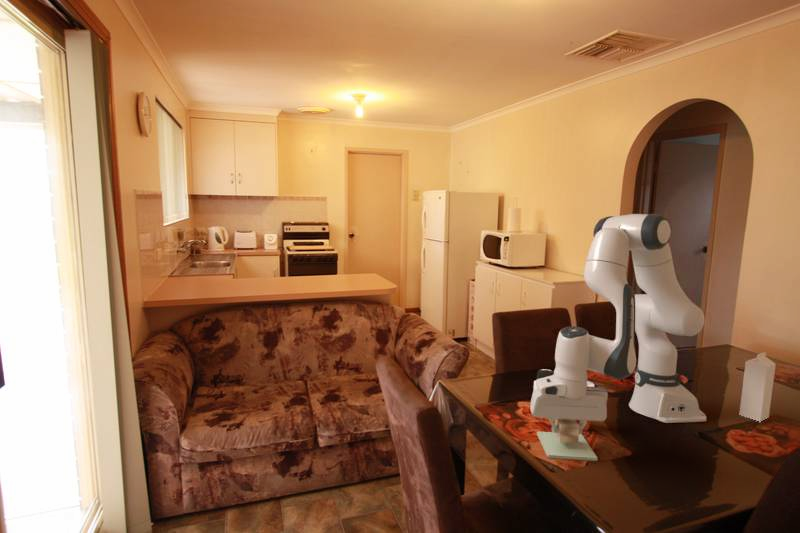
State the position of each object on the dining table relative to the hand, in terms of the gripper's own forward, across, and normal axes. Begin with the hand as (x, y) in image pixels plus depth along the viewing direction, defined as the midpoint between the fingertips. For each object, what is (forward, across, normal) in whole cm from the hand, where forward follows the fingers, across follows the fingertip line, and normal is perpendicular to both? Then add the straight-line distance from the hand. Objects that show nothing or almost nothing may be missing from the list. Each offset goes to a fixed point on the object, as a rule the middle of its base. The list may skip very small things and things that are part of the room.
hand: (566, 432), depth 124 cm
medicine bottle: (+4, -1, -28) cm, 28 cm away
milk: (+4, -69, -27) cm, 74 cm away
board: (+4, 0, 0) cm, 4 cm away
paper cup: (+4, -8, -13) cm, 16 cm away
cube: (+2, 0, 0) cm, 2 cm away
